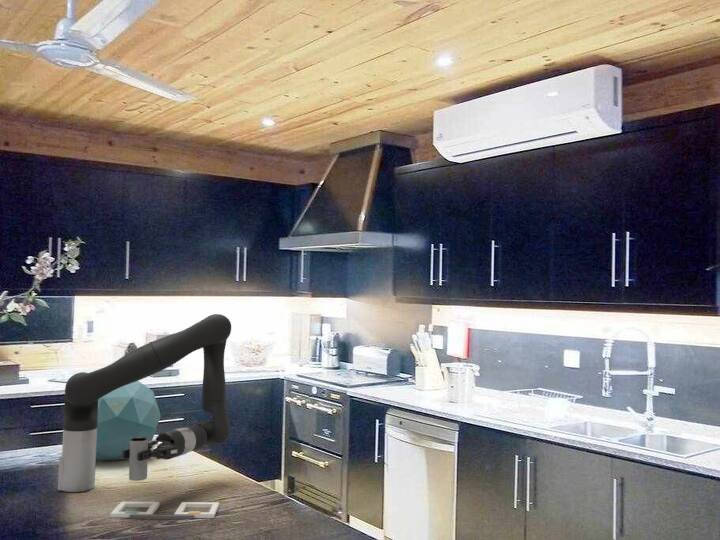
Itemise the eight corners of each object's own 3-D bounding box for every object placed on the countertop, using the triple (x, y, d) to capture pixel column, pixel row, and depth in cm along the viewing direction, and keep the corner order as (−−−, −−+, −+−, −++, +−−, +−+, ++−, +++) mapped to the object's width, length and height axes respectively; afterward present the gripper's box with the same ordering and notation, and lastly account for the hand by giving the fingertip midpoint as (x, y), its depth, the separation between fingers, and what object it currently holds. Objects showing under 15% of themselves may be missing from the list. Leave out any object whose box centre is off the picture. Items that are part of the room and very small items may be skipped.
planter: (138, 475, 180) (139, 436, 181) (150, 477, 178) (151, 438, 178) (125, 479, 176) (126, 439, 177) (137, 481, 174) (138, 441, 174)
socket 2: (174, 517, 172) (174, 512, 172) (181, 505, 182) (181, 501, 182) (213, 518, 173) (213, 513, 173) (219, 506, 183) (219, 501, 183)
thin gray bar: (129, 518, 171) (129, 515, 171) (130, 517, 172) (130, 514, 172) (193, 519, 172) (193, 516, 172) (193, 518, 173) (193, 515, 173)
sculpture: (169, 408, 255) (129, 346, 242) (180, 448, 229) (135, 382, 216) (98, 448, 249) (53, 388, 236) (101, 495, 224) (50, 430, 211)
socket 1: (110, 517, 171) (110, 512, 171) (121, 505, 181) (121, 500, 181) (150, 517, 172) (150, 512, 172) (159, 505, 182) (159, 500, 182)
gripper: (156, 427, 194) (111, 438, 178) (196, 432, 187) (152, 444, 172) (156, 453, 193) (110, 466, 178) (195, 459, 187) (151, 474, 172)
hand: (131, 455), depth 175 cm, fingers closed on planter, 4 cm apart
